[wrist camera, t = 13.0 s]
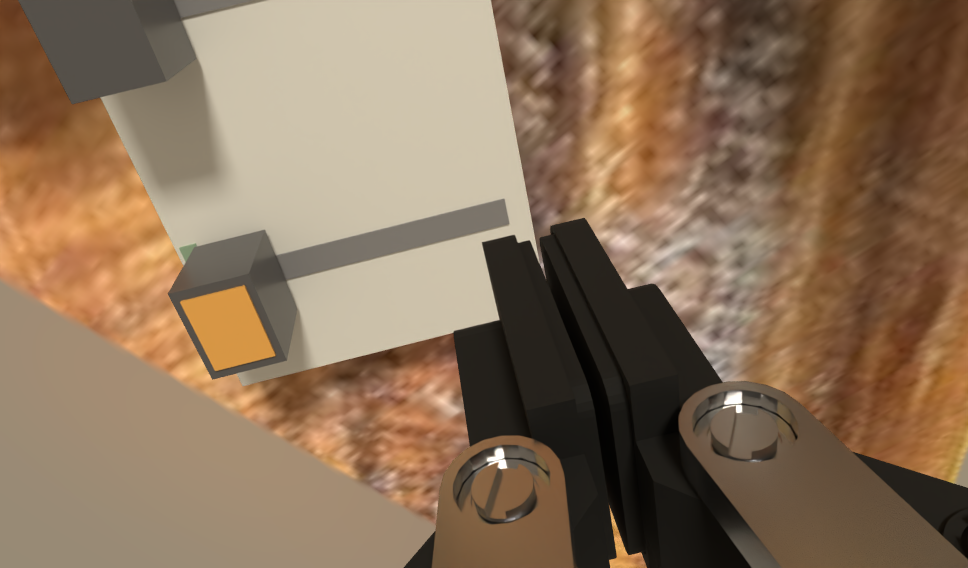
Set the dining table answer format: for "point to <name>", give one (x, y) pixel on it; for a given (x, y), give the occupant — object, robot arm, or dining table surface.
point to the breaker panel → (340, 160)
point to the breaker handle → (110, 43)
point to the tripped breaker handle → (236, 304)
